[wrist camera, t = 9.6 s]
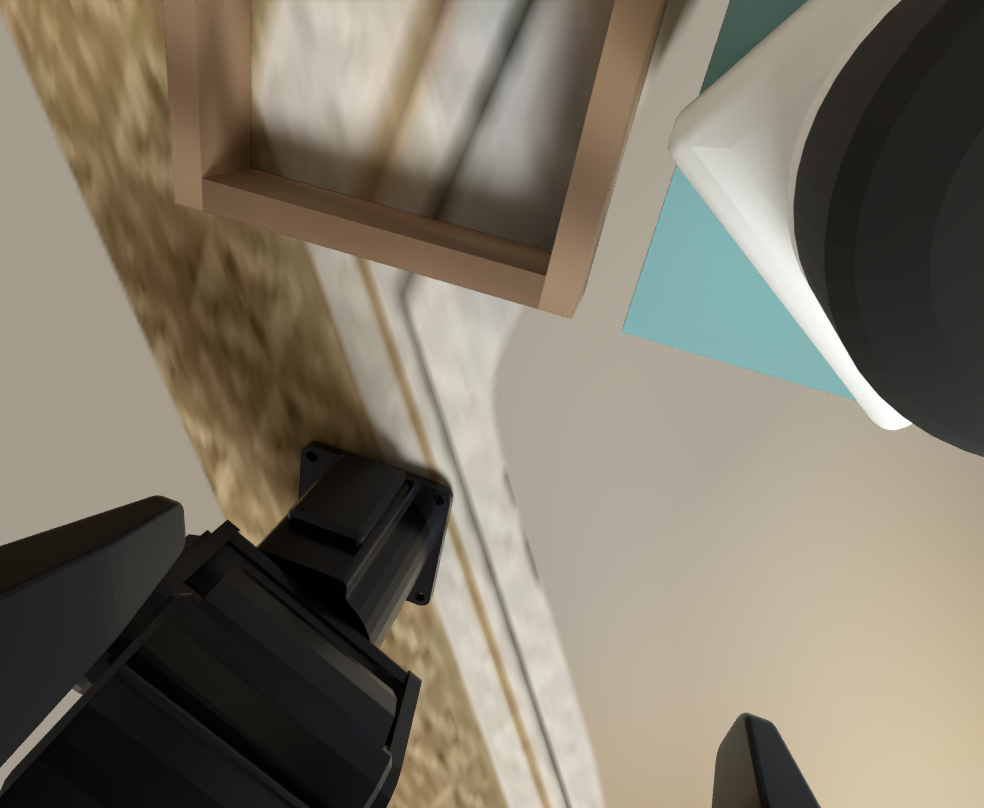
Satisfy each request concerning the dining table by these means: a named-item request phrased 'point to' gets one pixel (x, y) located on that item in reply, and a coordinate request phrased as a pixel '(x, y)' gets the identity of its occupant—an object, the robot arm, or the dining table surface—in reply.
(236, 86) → the offcut rack
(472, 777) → the dining table surface
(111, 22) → the dining table surface
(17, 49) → the dining table surface
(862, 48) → the medicine bottle
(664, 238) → the teal mat
